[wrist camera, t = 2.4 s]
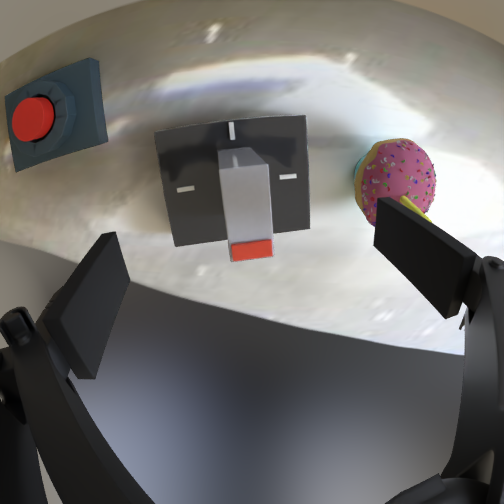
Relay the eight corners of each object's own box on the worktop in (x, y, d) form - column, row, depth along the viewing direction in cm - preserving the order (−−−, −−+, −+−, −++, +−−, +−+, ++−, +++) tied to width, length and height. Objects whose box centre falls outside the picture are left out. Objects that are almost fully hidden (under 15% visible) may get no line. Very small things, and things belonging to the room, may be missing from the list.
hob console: (296, 114, 24) (307, 115, 21) (301, 217, 28) (310, 229, 26) (160, 129, 23) (153, 132, 20) (178, 233, 28) (174, 248, 25)
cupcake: (357, 226, 30) (421, 289, 19) (321, 158, 26) (390, 196, 15) (415, 186, 28) (492, 229, 18) (388, 118, 25) (476, 135, 14)
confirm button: (52, 91, 16) (41, 91, 15) (57, 131, 18) (46, 133, 17) (20, 105, 16) (9, 106, 15) (26, 143, 18) (15, 147, 16)
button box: (98, 60, 19) (81, 54, 15) (108, 141, 23) (91, 147, 19) (16, 95, 18) (-7, 96, 15) (27, 167, 22) (5, 177, 18)
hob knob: (216, 150, 22) (218, 170, 14) (250, 146, 22) (269, 164, 15) (225, 215, 24) (231, 265, 17) (256, 211, 24) (275, 258, 17)
